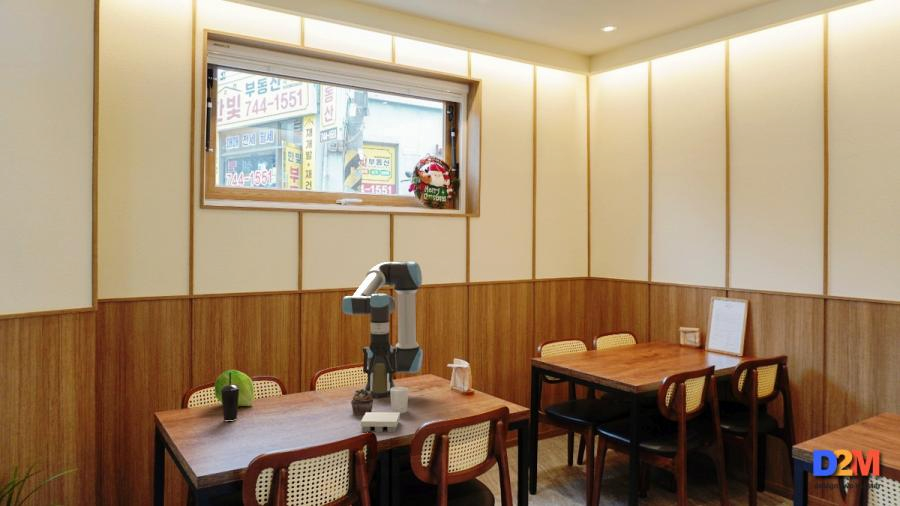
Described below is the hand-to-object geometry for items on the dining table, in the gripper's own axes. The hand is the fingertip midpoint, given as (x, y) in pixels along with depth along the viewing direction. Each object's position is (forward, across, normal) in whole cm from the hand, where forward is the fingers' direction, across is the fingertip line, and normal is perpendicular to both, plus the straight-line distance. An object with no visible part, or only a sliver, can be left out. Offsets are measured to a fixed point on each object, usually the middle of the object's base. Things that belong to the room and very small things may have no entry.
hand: (380, 390), depth 230 cm
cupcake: (+15, -11, +19) cm, 27 cm away
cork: (+1, 0, 0) cm, 1 cm away
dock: (+15, 0, 0) cm, 15 cm away
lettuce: (+15, -71, +29) cm, 78 cm away
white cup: (+15, +5, +21) cm, 26 cm away
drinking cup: (+15, -64, +7) cm, 66 cm away
